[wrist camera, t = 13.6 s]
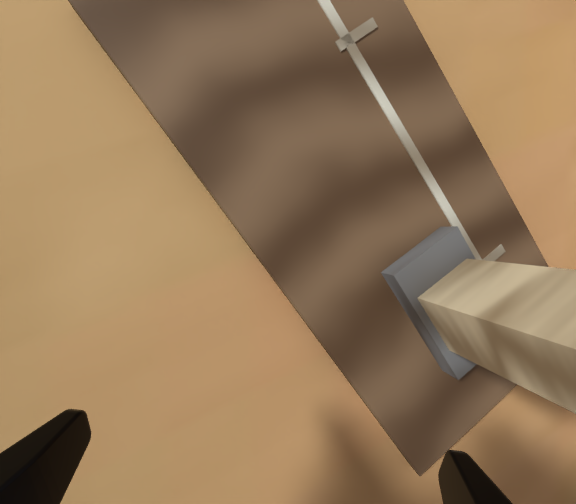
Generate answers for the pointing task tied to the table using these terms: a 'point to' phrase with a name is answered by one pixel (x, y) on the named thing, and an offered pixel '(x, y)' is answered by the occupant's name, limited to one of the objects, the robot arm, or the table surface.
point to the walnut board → (330, 174)
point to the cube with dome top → (491, 314)
